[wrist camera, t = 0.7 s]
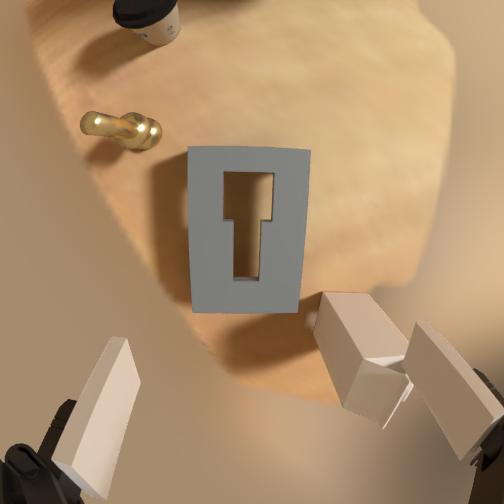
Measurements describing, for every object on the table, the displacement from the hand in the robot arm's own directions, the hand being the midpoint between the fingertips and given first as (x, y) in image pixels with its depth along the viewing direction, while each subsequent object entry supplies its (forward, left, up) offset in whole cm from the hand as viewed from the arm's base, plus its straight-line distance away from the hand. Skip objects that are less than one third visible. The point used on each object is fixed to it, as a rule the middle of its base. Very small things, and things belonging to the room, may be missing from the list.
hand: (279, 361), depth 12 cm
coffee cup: (-25, -12, -25) cm, 37 cm away
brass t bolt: (-11, -13, -25) cm, 30 cm away
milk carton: (+13, +13, -25) cm, 31 cm away
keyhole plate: (0, -1, -25) cm, 25 cm away
